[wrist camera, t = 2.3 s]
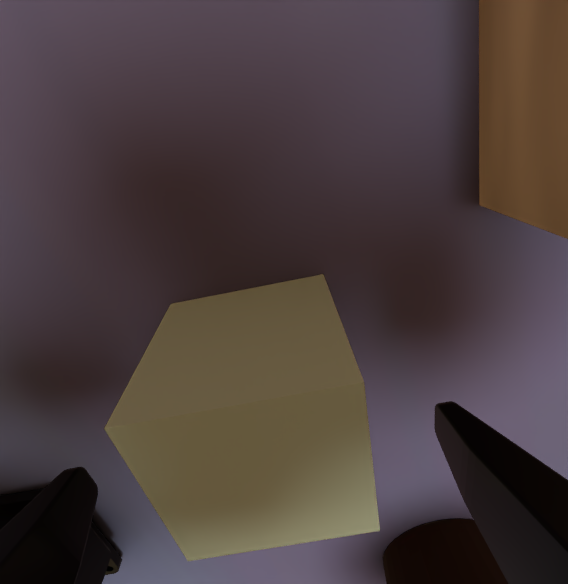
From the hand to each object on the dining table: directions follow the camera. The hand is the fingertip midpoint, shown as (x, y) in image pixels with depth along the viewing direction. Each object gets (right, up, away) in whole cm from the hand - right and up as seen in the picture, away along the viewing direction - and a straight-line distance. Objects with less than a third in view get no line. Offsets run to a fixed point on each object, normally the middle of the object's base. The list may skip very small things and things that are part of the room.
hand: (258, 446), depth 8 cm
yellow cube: (0, +2, +3) cm, 4 cm away
